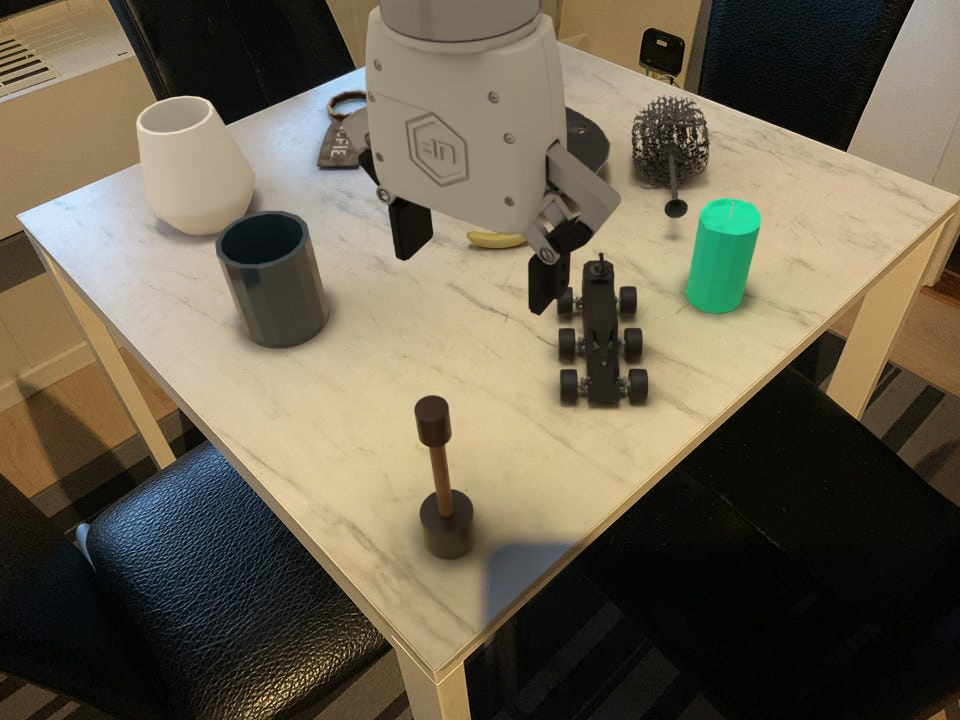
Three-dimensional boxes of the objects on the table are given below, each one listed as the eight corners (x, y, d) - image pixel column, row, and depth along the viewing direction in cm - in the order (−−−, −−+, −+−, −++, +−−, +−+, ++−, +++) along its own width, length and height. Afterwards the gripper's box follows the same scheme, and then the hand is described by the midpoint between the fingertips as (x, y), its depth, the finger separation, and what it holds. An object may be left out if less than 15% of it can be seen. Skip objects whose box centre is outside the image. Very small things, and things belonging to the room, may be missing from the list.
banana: (535, 238, 95) (535, 210, 92) (537, 247, 94) (537, 219, 91) (467, 243, 95) (465, 216, 92) (468, 253, 93) (466, 225, 91)
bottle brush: (431, 566, 66) (407, 439, 53) (419, 522, 69) (393, 393, 56) (482, 551, 66) (470, 423, 54) (468, 509, 69) (453, 377, 57)
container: (248, 356, 83) (218, 276, 75) (241, 301, 90) (212, 221, 82) (335, 336, 85) (314, 255, 77) (322, 282, 91) (301, 202, 83)
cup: (230, 171, 108) (198, 74, 98) (283, 212, 101) (255, 112, 91) (138, 214, 102) (95, 115, 92) (188, 261, 95) (147, 159, 85)
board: (601, 128, 111) (604, 94, 107) (615, 224, 96) (618, 188, 92) (444, 133, 112) (441, 99, 108) (433, 228, 97) (429, 193, 93)
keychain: (307, 170, 107) (304, 157, 106) (332, 99, 120) (330, 87, 119) (364, 169, 107) (361, 156, 105) (383, 98, 120) (381, 86, 118)
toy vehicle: (632, 302, 86) (640, 237, 80) (646, 408, 76) (657, 344, 70) (556, 303, 87) (558, 239, 80) (560, 409, 76) (562, 345, 70)
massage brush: (630, 240, 93) (637, 172, 87) (627, 140, 108) (633, 74, 102) (711, 243, 92) (726, 174, 86) (698, 141, 107) (709, 75, 101)
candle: (716, 269, 89) (735, 178, 80) (754, 300, 85) (778, 208, 77) (673, 289, 87) (689, 198, 79) (710, 321, 84) (731, 229, 75)
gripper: (265, -17, 38) (331, 262, 50) (588, 62, 31) (573, 364, 43) (364, -69, 42) (403, 201, 54) (669, -9, 35) (634, 285, 47)
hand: (478, 273), depth 49 cm, fingers open, 9 cm apart
